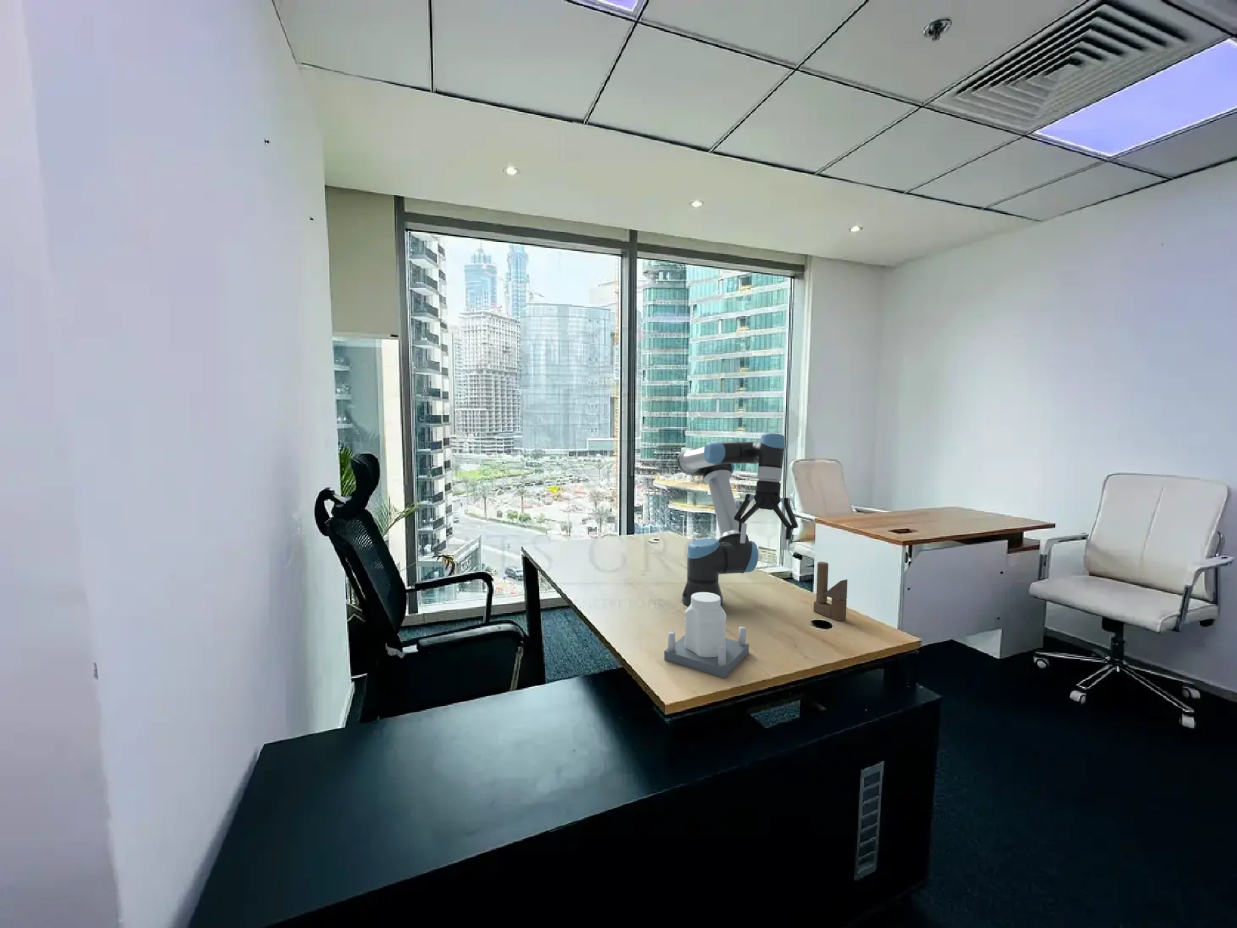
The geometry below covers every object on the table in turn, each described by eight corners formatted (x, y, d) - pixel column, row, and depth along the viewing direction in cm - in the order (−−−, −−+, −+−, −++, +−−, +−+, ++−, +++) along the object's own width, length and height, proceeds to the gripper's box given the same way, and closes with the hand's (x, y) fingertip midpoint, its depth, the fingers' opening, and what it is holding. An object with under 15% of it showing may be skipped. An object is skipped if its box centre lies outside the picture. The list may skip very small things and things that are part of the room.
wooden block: (839, 621, 166) (841, 569, 165) (813, 611, 175) (814, 562, 174) (846, 619, 168) (848, 568, 166) (819, 609, 177) (821, 560, 176)
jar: (731, 652, 137) (732, 599, 136) (705, 660, 132) (706, 606, 131) (704, 637, 147) (704, 588, 146) (678, 644, 142) (679, 593, 141)
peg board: (664, 659, 138) (664, 633, 137) (692, 637, 152) (692, 614, 152) (724, 678, 128) (725, 650, 127) (748, 652, 142) (749, 627, 142)
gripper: (811, 484, 155) (805, 552, 154) (736, 478, 169) (730, 539, 168) (805, 483, 149) (799, 553, 148) (728, 477, 163) (721, 540, 162)
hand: (762, 546), depth 158 cm, fingers open, 13 cm apart
